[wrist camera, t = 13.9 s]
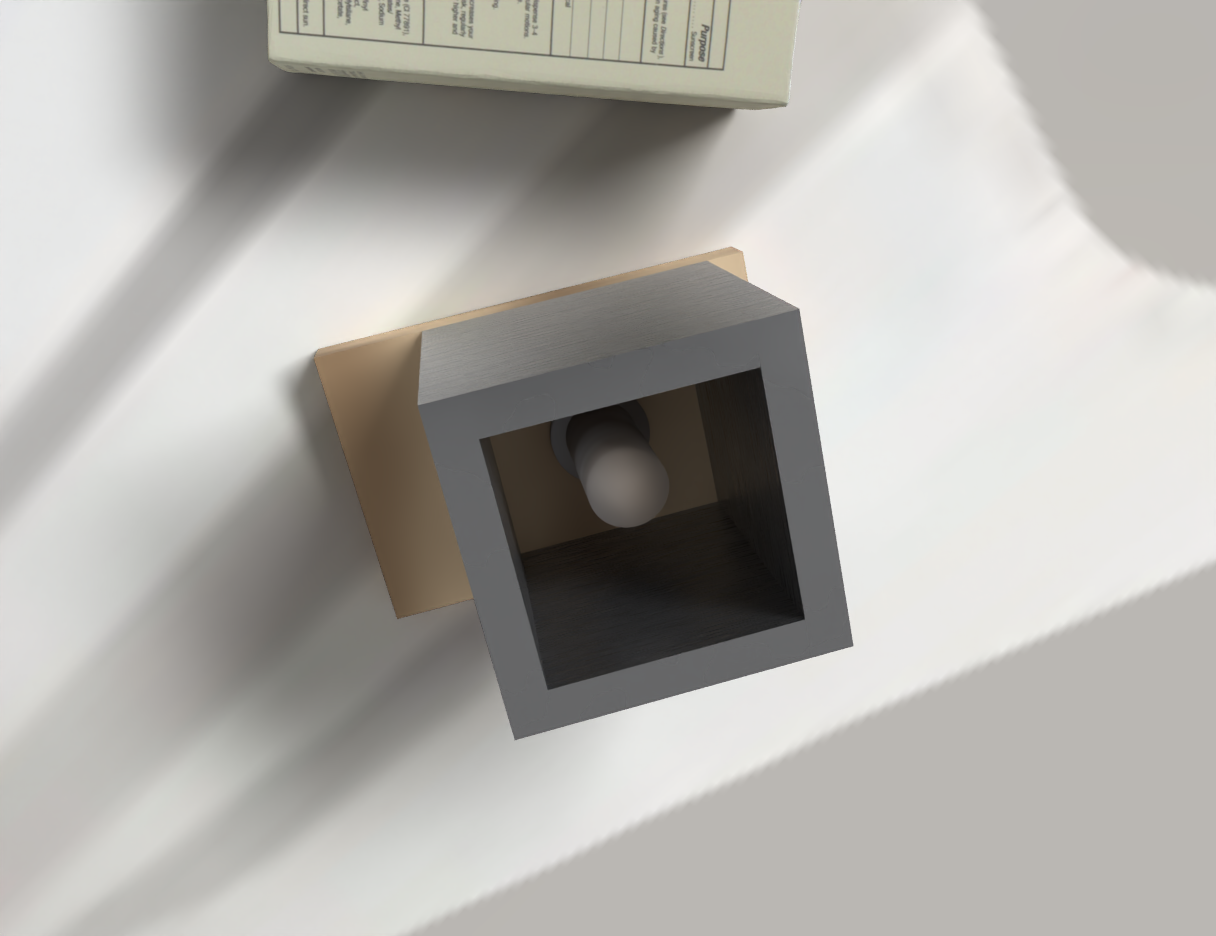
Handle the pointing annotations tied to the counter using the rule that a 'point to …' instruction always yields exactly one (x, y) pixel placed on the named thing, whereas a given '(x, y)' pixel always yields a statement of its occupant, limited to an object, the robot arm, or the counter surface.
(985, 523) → the counter surface
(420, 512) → the block
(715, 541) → the hollow grey cube box
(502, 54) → the skincare box
